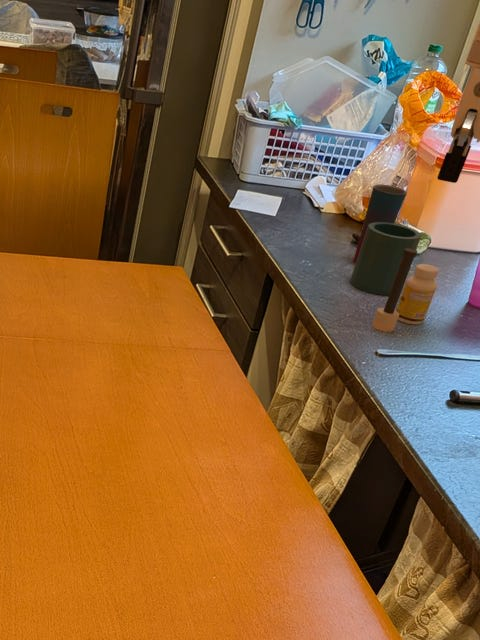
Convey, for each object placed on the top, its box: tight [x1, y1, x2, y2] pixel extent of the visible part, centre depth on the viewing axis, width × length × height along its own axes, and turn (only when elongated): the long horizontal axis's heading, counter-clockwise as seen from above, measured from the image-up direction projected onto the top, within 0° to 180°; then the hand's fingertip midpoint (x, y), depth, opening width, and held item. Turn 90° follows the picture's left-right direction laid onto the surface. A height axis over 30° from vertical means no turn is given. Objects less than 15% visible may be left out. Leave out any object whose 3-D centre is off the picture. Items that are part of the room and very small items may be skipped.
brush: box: [371, 248, 418, 333], centre depth 168 cm, size 4×4×14 cm
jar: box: [349, 222, 422, 296], centre depth 187 cm, size 10×10×11 cm
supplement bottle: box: [395, 263, 440, 326], centre depth 174 cm, size 5×5×10 cm
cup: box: [353, 183, 408, 264], centre depth 197 cm, size 7×7×15 cm
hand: (449, 175), depth 156 cm, fingers open, 9 cm apart
